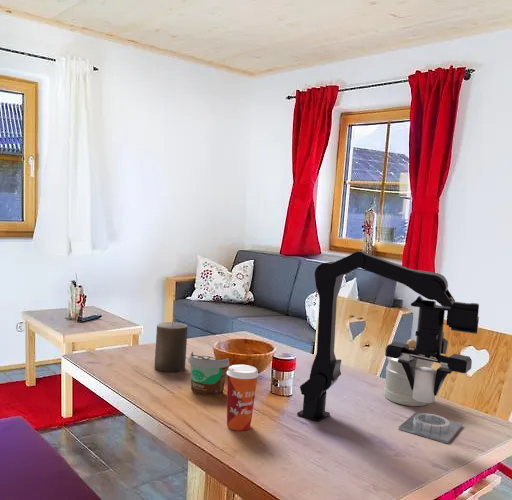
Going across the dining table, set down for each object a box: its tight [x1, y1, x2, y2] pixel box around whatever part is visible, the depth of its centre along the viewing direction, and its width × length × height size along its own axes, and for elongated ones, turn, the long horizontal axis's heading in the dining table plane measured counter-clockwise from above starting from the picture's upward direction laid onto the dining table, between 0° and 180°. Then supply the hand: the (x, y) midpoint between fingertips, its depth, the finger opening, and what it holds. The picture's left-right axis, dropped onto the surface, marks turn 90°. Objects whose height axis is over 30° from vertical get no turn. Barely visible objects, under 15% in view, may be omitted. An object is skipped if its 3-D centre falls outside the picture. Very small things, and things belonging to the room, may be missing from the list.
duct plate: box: [398, 411, 464, 445], centre depth 135 cm, size 14×12×2 cm
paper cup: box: [226, 364, 259, 432], centre depth 128 cm, size 8×8×14 cm
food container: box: [187, 351, 231, 396], centre depth 149 cm, size 12×6×10 cm, turn 68°
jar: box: [383, 338, 435, 407], centre depth 156 cm, size 13×13×18 cm
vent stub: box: [413, 367, 437, 404], centre depth 127 cm, size 6×5×7 cm
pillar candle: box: [154, 320, 188, 373], centre depth 170 cm, size 10×10×15 cm
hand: (424, 392), depth 127 cm, fingers closed on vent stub, 5 cm apart
